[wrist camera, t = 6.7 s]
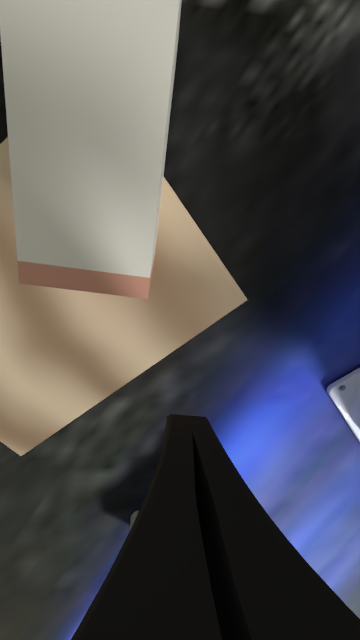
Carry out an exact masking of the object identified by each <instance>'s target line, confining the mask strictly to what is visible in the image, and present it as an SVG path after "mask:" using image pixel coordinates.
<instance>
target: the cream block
mask: <svg viewBox="0 0 360 640" xmlns="http://www.w3.org/2000/svg"><path fill="white" fill-rule="evenodd" d="M181 2H182V0H0V36H1V49H2V63H3V76H4V89H5V103H6V116H7V129H8V142H9V156H10V169H11V182H12V196H13V209H14V222H15V236H16V249H17V262H18V276H19V284H27V285H35V286H43V287H51V288H60V289H68V290H76V291H84V292H93V293H101V294H109V295H118V296H126V297H134V298H142V299H148V295H149V289H150V283H151V278H152V272H153V266H154V257H155V248H156V239H157V229H158V220H159V211H160V202H161V193H162V184H163V175H164V165H165V156H166V147H167V138H168V129H169V120H170V111H171V102H172V92H173V83H174V74H175V65H176V56H177V47H178V37H179V25H180V14H181Z"/></svg>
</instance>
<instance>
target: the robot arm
mask: <svg viewBox="0 0 360 640" xmlns="http://www.w3.org/2000/svg"><path fill="white" fill-rule="evenodd" d="M340 386H341V387H340ZM339 387H340V388H339ZM327 393H328V394H329V396H330V398H331V399H332V401H333V402H334V404H335V405H336V407H337V408H338V410H339V411H340V413H341V414H342V416H343V418H344V419H345V421H346V422H347V424H348V425H349V427H350V428H351V430H352V431H353V433H354V434H355V436H356V438H357V439H358V441H359V442H360V368H358V369H356V370H354V371H353V372H351V373H349V374H348V375H346V376H344V377H342V378H341V379H339V380H337V381H336V382H334V383H332V384H330V385H329V386H328V388H327ZM71 640H360V619H359V618H358V617H357V616H356V615H355V614H354V613H353V612H352V611H351V610H350V609H349V608H348V607H347V606H346V605H345V603H344V602H343V601H342V600H341V599H340V598H339V597H338V596H337V595H336V594H335V593H334V591H333V590H332V589H331V588H330V587H329V586H328V585H327V584H326V583H325V582H324V581H323V580H322V578H321V577H320V576H319V575H318V574H317V573H316V572H315V571H314V570H313V569H312V568H311V566H310V565H309V564H308V563H307V562H306V561H305V560H304V559H303V557H302V556H301V555H300V554H299V553H298V551H297V550H296V549H295V548H294V547H293V545H292V544H291V543H290V542H289V541H288V540H287V538H286V537H285V536H284V535H283V533H282V532H281V531H280V530H279V528H278V527H277V526H276V524H275V523H274V522H273V521H272V519H271V518H270V517H269V515H268V514H267V513H266V511H265V510H264V509H263V507H262V506H261V505H260V503H259V502H258V500H257V499H256V498H255V496H254V495H253V493H252V492H251V491H250V489H249V488H248V486H247V485H246V483H245V482H244V480H243V479H242V477H241V476H240V474H239V473H238V471H237V469H236V468H235V466H234V465H233V463H232V461H231V460H230V458H229V457H228V455H227V453H226V452H225V450H224V448H223V446H222V445H221V443H220V441H219V440H218V438H217V436H216V434H215V432H214V430H213V429H212V427H211V425H210V423H209V421H208V419H207V418H206V417H199V416H187V415H174V414H170V415H169V416H167V421H166V427H165V433H164V439H163V445H162V451H161V455H160V458H159V461H158V465H157V468H156V470H155V473H154V476H153V478H152V481H151V483H150V486H149V489H148V491H147V494H146V496H145V499H144V501H143V503H142V506H141V508H140V510H139V512H138V515H137V517H136V519H135V521H134V523H133V526H132V528H131V530H130V532H129V534H128V536H127V538H126V540H125V542H124V544H123V546H122V548H121V550H120V552H119V554H118V556H117V558H116V560H115V562H114V564H113V566H112V568H111V570H110V571H109V573H108V575H107V577H106V579H105V581H104V582H103V584H102V586H101V588H100V590H99V591H98V593H97V595H96V597H95V598H94V600H93V602H92V604H91V606H90V607H89V609H88V611H87V613H86V614H85V616H84V618H83V620H82V622H81V623H80V625H79V627H78V629H77V630H76V632H75V634H74V635H73V637H72V639H71Z"/></svg>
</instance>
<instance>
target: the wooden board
mask: <svg viewBox="0 0 360 640" xmlns="http://www.w3.org/2000/svg"><path fill="white" fill-rule="evenodd" d="M245 301H247V298H246V297H245V295H244V294H243V292H242V291H241V289H240V288H239V286H238V285H237V283H236V282H235V281H234V279H233V278H232V276H231V275H230V273H229V272H228V270H227V269H226V267H225V266H224V264H223V263H222V261H221V260H220V258H219V257H218V256H217V254H216V253H215V251H214V250H213V248H212V247H211V245H210V244H209V242H208V241H207V239H206V238H205V236H204V235H203V234H202V232H201V231H200V229H199V228H198V226H197V225H196V223H195V222H194V220H193V219H192V217H191V216H190V214H189V213H188V212H187V210H186V209H185V207H184V206H183V204H182V203H181V201H180V200H179V198H178V197H177V195H176V194H175V192H174V191H173V189H172V188H171V187H170V185H169V184H168V182H167V181H166V179H165V178H164V176H163V184H162V193H161V202H160V211H159V220H158V229H157V239H156V248H155V257H154V266H153V272H152V278H151V283H150V289H149V295H148V299H142V298H134V297H126V296H118V295H109V294H101V293H93V292H84V291H76V290H68V289H60V288H51V287H43V286H35V285H27V284H19V276H18V262H17V249H16V236H15V222H14V209H13V196H12V182H11V169H10V156H9V142H8V137H7V138H6V139H5V140H4V141H3V142H2V143H1V144H0V442H2V443H3V444H5V445H6V446H8V447H9V448H10V449H12V450H13V451H15V452H16V453H17V454H19V455H20V456H22V455H24V454H25V453H26V452H28V451H29V450H31V449H32V448H34V447H35V446H37V445H38V444H39V443H41V442H42V441H44V440H45V439H47V438H48V437H50V436H51V435H52V434H54V433H55V432H57V431H58V430H60V429H61V428H63V427H64V426H66V425H67V424H68V423H70V422H71V421H73V420H74V419H76V418H77V417H79V416H80V415H81V414H83V413H84V412H86V411H87V410H89V409H90V408H92V407H93V406H94V405H96V404H97V403H99V402H100V401H102V400H103V399H105V398H106V397H108V396H109V395H110V394H112V393H113V392H115V391H116V390H118V389H119V388H121V387H122V386H123V385H125V384H126V383H128V382H129V381H131V380H132V379H134V378H135V377H136V376H138V375H139V374H141V373H142V372H144V371H145V370H147V369H148V368H150V367H151V366H152V365H154V364H155V363H157V362H158V361H160V360H161V359H163V358H164V357H165V356H167V355H168V354H170V353H171V352H173V351H174V350H176V349H177V348H178V347H180V346H181V345H183V344H184V343H186V342H187V341H189V340H190V339H192V338H193V337H194V336H196V335H197V334H199V333H200V332H202V331H203V330H205V329H206V328H207V327H209V326H210V325H212V324H213V323H215V322H216V321H218V320H219V319H221V318H222V317H223V316H225V315H226V314H228V313H229V312H231V311H232V310H234V309H235V308H236V307H238V306H239V305H241V304H242V303H244V302H245Z"/></svg>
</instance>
